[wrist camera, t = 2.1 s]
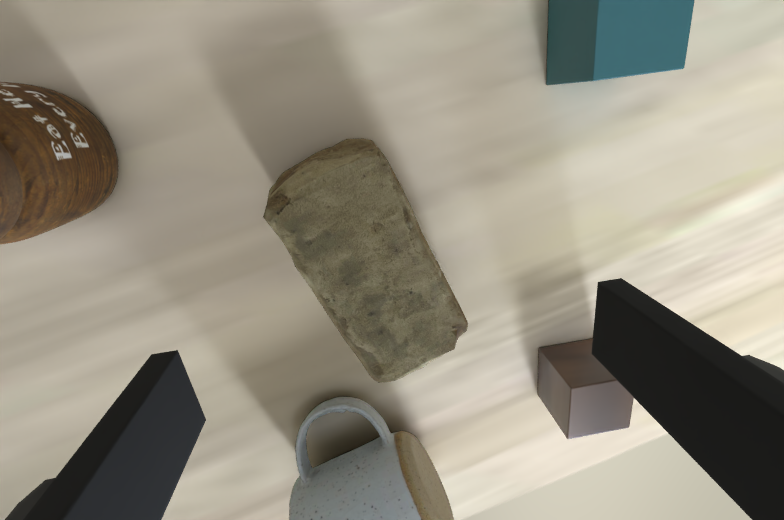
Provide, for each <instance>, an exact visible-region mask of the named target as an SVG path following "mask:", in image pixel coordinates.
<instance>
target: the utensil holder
mask: <svg viewBox="0 0 784 520" xmlns="http://www.w3.org/2000/svg"><path fill="white" fill-rule="evenodd" d="M117 176H118V159H117V154H116V150H115V148H114V145H113V142H112V140H111V138H110V136H109V135H108V133H107V131H106V130H105V128H104V127H103V126H102V124H101V123H100V122H99V121H98V120H97V119H96V117H95V116H93V115H92V114H91V113H90V112H89V111H88V110H87V109H86V108H84V107H83V106H82V105H80V104H79V103H77V102H76V101H74V100H72V99H71V98H69V97H67V96H65V95H63V94H60V93H58V92H56V91H53V90H50V89H46V88H42V87H38V86H33V85H27V84H19V83H8V82H0V244H6V243H12V242H17V241H21V240H25V239H28V238H31V237H34V236H37V235H39V234H42V233H44V232H47V231H49V230H52V229H54V228H56V227H59V226H61V225H63V224H66V223H68V222H70V221H73V220H75V219H77V218H79V217H81V216H83V215H85V214H87V213H89V212H91V211H92V210H94V209H95V208H97V207H98V206H100V205H101V204H102V203H103V202H104V201H105V200H106V199H107V198H108V197H109V195H110V194H111V192H112V190H113V189H114V186H115V184H116V180H117Z"/></svg>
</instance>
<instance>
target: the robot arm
mask: <svg viewBox="0 0 784 520" xmlns="http://www.w3.org/2000/svg"><path fill="white" fill-rule="evenodd" d="M591 354H592V355H593V356H594V357H595V358H596V359H597V360H598V361H599V362H600V363H601V364H602V365H603V366H604V367H605V368H606V369H607V370H608V371H609V372H610V373H611V374H612V375H613V376H614V377H615V378H616V379H617V381H618V382H619V383H620V384H621V385H622V386H623V387H624V388H625V389H626V390H627V391H628V392H629V393H630V394H631V395H632V396H633V397H634V398H635V399H636V400H637V401H638V402H639V403H640V404H641V405H642V406H643V407H644V408H645V409H646V410H647V411H648V413H649V414H650V415H651V416H652V417H653V418H654V419H655V420H656V421H657V422H658V423H659V424H660V425H661V426H662V427H663V428H664V429H665V430H666V431H667V432H668V433H669V434H670V435H671V436H672V437H673V438H674V439H675V440H676V441H677V442H678V443H679V445H680V446H681V447H682V448H683V449H684V450H685V451H686V452H687V453H688V454H689V455H690V456H691V457H692V458H693V459H694V460H695V461H696V462H697V463H698V464H699V465H700V466H701V467H702V468H703V469H704V470H705V471H706V472H707V473H708V474H709V475H710V477H711V478H712V479H713V480H714V481H715V482H716V483H717V484H718V485H719V486H720V487H721V488H722V489H723V490H724V491H725V492H726V493H727V494H728V495H729V496H730V497H731V498H732V499H733V500H734V501H735V502H736V503H737V504H738V505H739V506H740V508H742V510H743V511H744V512H745V513H746V514H747V515H748V516H749V517H750V518H751V519H752V520H784V370H782V369H781V368H779V367H777V366H775V365H772V364H770V363H767V362H765V361H762V360H760V359H757V358H755V357H752V356H750V355H746V356H741V355H739V354H738V353H736V352H735V351H733V350H732V349H730V348H728V347H727V346H725V345H724V344H722V343H721V342H719V341H718V340H716V339H715V338H713V337H711V336H710V335H708V334H707V333H705V332H704V331H702V330H701V329H699V328H697V327H696V326H694V325H693V324H691V323H690V322H688V321H687V320H685V319H683V318H682V317H680V316H679V315H677V314H676V313H674V312H673V311H671V310H670V309H668V308H666V307H665V306H663V305H662V304H660V303H659V302H657V301H656V300H654V299H652V298H651V297H649V296H648V295H646V294H645V293H643V292H642V291H640V290H638V289H637V288H635V287H634V286H632V285H631V284H629V283H628V282H626V281H625V280H623V279H621V278H620V279H614V280H608V281H602V282H598V288H597V299H596V310H595V320H594V331H593V342H592V353H591ZM205 421H206V419H205V416H204V414H203V411H202V409H201V406H200V404H199V402H198V399H197V397H196V394H195V392H194V389H193V387H192V384H191V382H190V379H189V377H188V375H187V372H186V370H185V367H184V365H183V362H182V360H181V357H180V355H179V352H178V350H176V351H170V352H164V353H158V354H152V355H151V356H150V357H149V359H148V360H147V361H146V362H145V364H144V365H143V366H142V368H141V369H140V370H139V371H138V373H137V374H136V375H135V377H134V378H133V379H132V380H131V382H130V383H129V384H128V386H127V387H126V388H125V389H124V391H123V392H122V393H121V395H120V396H119V397H118V398H117V400H116V401H115V402H114V404H113V405H112V406H111V407H110V409H109V410H108V411H107V413H106V414H105V415H104V416H103V418H102V419H101V420H100V422H99V423H98V424H97V425H96V427H95V428H94V429H93V431H92V432H91V433H90V434H89V436H88V437H87V438H86V440H85V441H84V442H83V443H82V445H81V446H80V447H79V449H78V450H77V451H76V452H75V454H74V455H73V456H72V458H71V459H70V460H69V461H68V463H67V464H66V465H65V467H64V468H63V469H62V470H61V472H60V473H59V474H58V476H57V477H56V478H53V479H48V480H45V481H44V482H43V483H42V484H40V485H39V486H38V487H37V488H36V489H35V490H33V491H32V492H31V493H30V494H29V495H28V496H26V497H25V498H24V499H23V500H22V501H21V502H19V503H18V504H17V506H16V507H15V508H14V509H13V510H12V512H11V513H10V514H9V515H8V517H7V518H6V519H5V520H161V519H162V517H163V515H164V512H165V510H166V508H167V506H168V503H169V501H170V499H171V497H172V494H173V492H174V490H175V488H176V486H177V483H178V481H179V479H180V477H181V474H182V472H183V470H184V468H185V465H186V463H187V461H188V459H189V456H190V454H191V452H192V450H193V447H194V445H195V443H196V441H197V439H198V436H199V434H200V432H201V430H202V427H203V425H204V423H205Z"/></svg>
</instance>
